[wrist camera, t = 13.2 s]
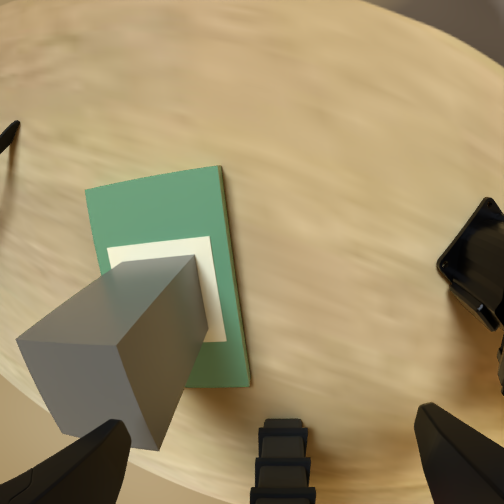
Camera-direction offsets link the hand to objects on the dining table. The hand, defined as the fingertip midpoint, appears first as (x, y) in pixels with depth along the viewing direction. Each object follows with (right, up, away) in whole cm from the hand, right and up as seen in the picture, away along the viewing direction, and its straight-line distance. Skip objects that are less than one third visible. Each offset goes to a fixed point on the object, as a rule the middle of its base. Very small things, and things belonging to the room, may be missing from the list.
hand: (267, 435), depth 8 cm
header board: (-6, +3, +13) cm, 15 cm away
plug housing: (-6, +2, +12) cm, 14 cm away
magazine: (+2, -12, +17) cm, 21 cm away
